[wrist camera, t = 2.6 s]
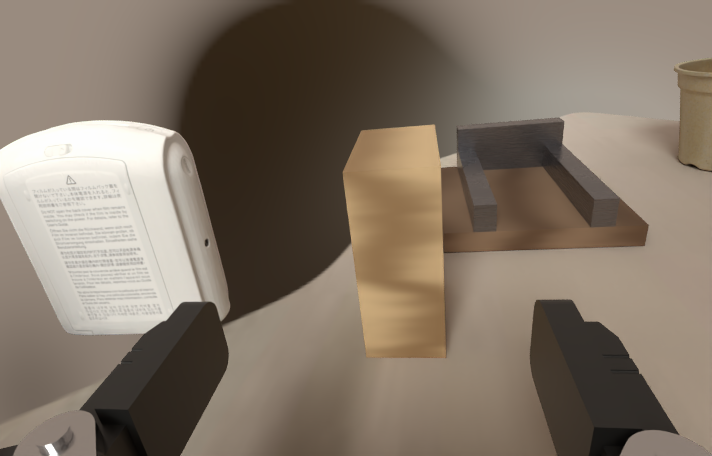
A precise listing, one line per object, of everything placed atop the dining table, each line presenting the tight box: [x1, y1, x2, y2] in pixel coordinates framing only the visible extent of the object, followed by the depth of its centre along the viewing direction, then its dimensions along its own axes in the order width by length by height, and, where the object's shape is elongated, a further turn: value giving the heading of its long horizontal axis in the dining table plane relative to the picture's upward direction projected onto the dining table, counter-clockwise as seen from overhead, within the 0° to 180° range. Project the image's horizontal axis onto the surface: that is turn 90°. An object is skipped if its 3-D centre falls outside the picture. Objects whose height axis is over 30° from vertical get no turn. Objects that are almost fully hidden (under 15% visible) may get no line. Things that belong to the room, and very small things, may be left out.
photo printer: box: [0, 120, 230, 335], centre depth 25 cm, size 10×4×12 cm, turn 86°
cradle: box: [441, 118, 649, 252], centre depth 35 cm, size 13×14×6 cm
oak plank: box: [343, 125, 446, 358], centre depth 23 cm, size 4×7×10 cm, turn 173°
